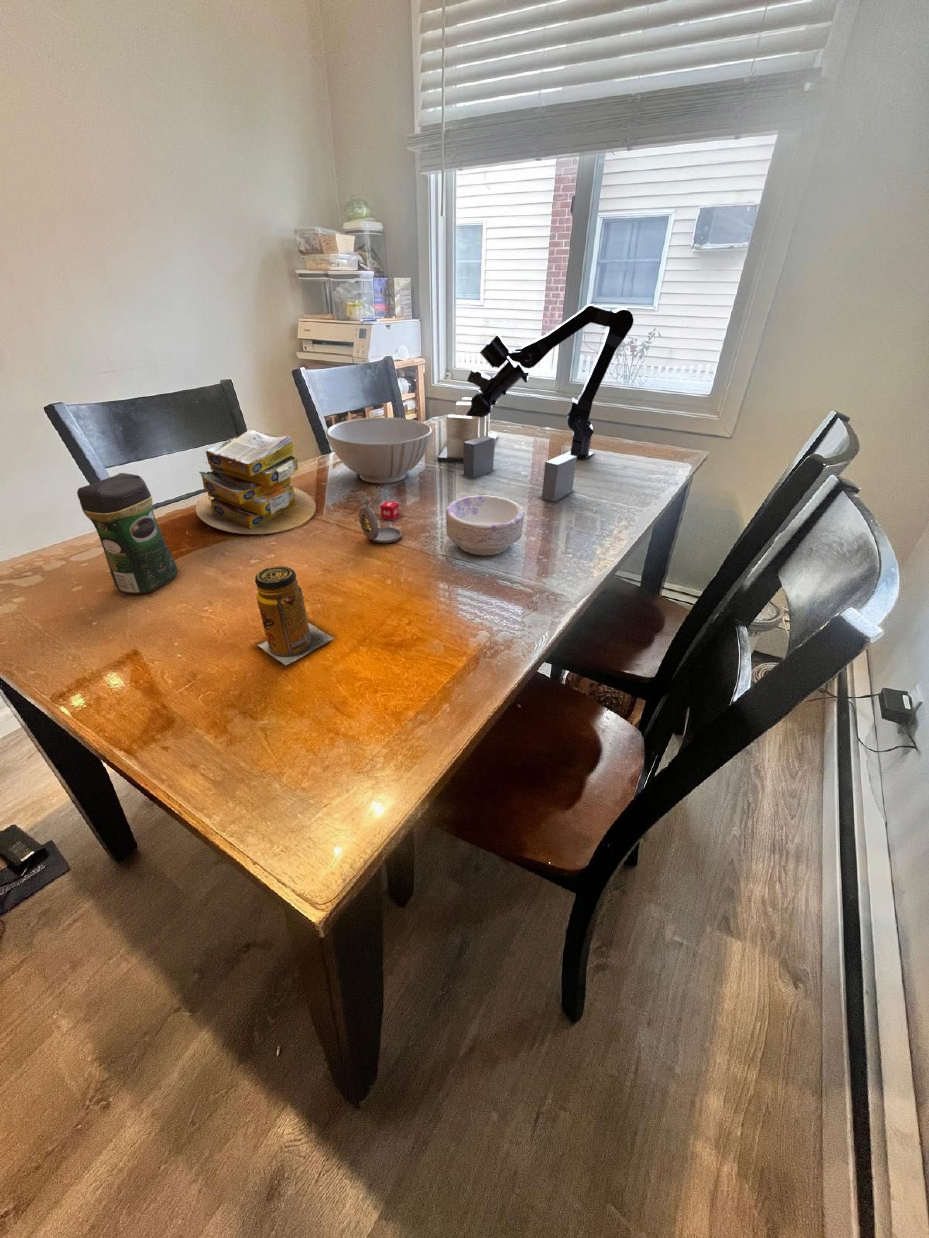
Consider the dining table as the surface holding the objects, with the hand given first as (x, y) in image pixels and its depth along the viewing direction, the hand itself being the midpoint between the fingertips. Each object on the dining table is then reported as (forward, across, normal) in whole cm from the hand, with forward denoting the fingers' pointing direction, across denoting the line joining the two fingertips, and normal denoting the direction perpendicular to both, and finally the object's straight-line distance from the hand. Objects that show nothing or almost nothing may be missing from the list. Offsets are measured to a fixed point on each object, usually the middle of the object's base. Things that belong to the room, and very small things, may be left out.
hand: (465, 418), depth 157 cm
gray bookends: (-7, +29, +19) cm, 36 cm away
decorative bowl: (+19, +30, -6) cm, 36 cm away
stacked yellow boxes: (+33, +61, -20) cm, 72 cm away
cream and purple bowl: (-4, +68, +17) cm, 70 cm away
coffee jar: (+35, +93, -23) cm, 102 cm away
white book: (+4, 0, +6) cm, 8 cm away
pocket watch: (+11, +69, +2) cm, 70 cm away
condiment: (+12, +105, +1) cm, 106 cm away
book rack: (+5, 0, +7) cm, 9 cm away
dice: (+12, +57, +1) cm, 58 cm away
